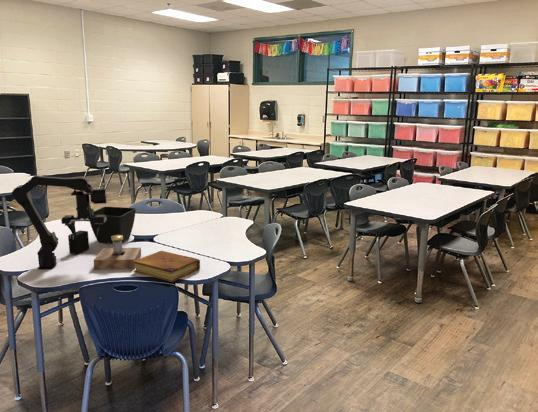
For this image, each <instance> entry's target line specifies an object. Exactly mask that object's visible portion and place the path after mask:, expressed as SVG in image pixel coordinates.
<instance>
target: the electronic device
mask: <svg viewBox="0 0 538 412" xmlns="http://www.w3.org/2000/svg"><path fill="white" fill-rule="evenodd" d="M67 238H68V251H69V254H70V255H76V256H77V255H80V254H83V253H85V252H86V251H88V250H89V249H90V242H89V241H90V239H89V231H88V230H78V231H77V230H76V238H75V237H74V236H73V234H72V233H70V234H68V237H67Z"/></svg>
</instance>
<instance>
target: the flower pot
mask: <svg viewBox="0 0 538 412" xmlns="http://www.w3.org/2000/svg"><path fill="white" fill-rule="evenodd" d="M136 211H137V208H135V207H119V206H103V207H101V208H98V209H96V210H95V211H94V216H91V217H96V216H97V215H106V217H107V220H106V221H105V223H103V224H102V225H100V227H99V230H98V234H97V237H95V239H96V241H97V242H98V243H99V244H109V245H110V244H112V245H113V241H112V240H111V236H113V235H123V240H122V243H124V242H126V241H127V240H129V239H130V238H131V235H132V231H133V228H134V224H135V217H136ZM95 223H96V222H95V221H89V224H90V226H91V230H92V232H93V235H94V236H95V225H94V224H95Z"/></svg>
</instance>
